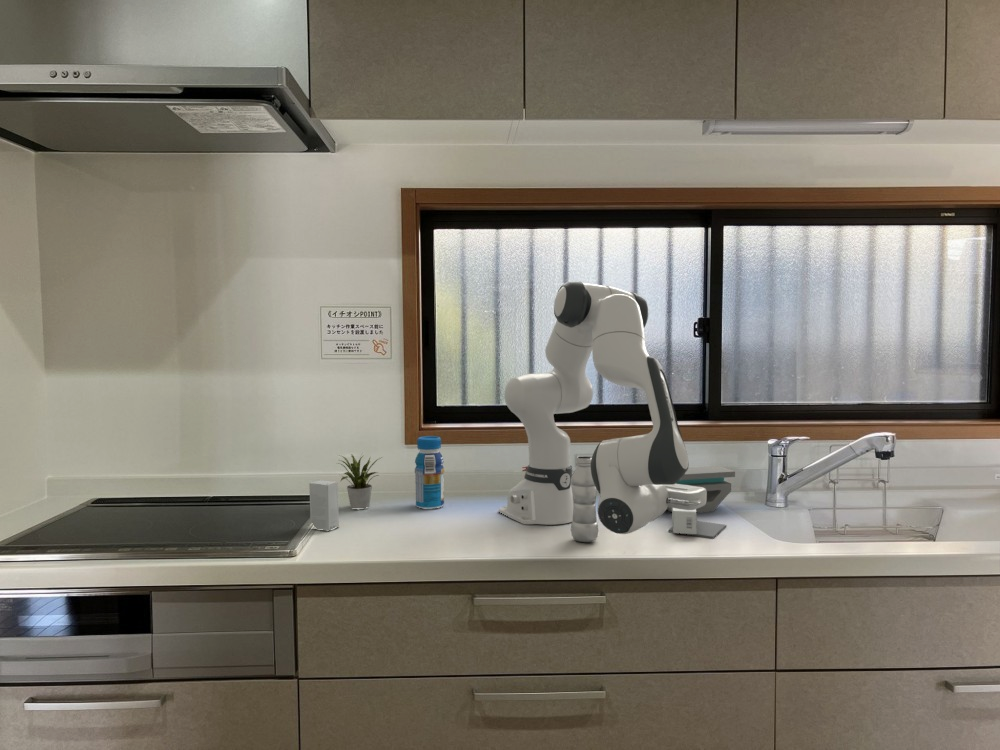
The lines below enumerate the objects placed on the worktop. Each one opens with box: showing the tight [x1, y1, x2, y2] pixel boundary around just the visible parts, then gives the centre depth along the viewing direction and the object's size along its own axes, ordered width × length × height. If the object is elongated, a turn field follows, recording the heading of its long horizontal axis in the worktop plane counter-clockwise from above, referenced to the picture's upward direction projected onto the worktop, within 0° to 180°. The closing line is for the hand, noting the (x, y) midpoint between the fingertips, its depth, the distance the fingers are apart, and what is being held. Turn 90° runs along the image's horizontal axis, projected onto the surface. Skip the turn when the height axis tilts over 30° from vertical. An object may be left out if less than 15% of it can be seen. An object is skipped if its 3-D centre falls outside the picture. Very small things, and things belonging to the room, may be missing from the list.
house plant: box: [337, 453, 383, 509], centre depth 192 cm, size 14×14×16 cm
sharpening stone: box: [666, 465, 736, 513], centre depth 188 cm, size 25×8×11 cm, turn 103°
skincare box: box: [308, 479, 340, 530], centre depth 171 cm, size 6×4×12 cm
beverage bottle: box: [414, 435, 445, 509], centre depth 193 cm, size 8×8×20 cm
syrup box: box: [671, 508, 698, 535], centre depth 169 cm, size 6×6×14 cm
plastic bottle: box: [570, 455, 599, 543], centre depth 159 cm, size 6×7×20 cm
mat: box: [667, 520, 727, 539], centre depth 168 cm, size 12×11×1 cm
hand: (668, 485), depth 149 cm, fingers closed
